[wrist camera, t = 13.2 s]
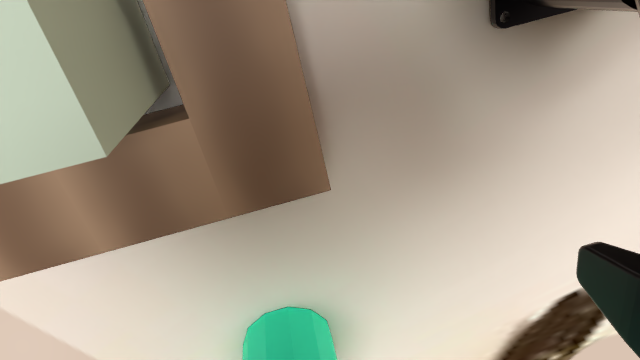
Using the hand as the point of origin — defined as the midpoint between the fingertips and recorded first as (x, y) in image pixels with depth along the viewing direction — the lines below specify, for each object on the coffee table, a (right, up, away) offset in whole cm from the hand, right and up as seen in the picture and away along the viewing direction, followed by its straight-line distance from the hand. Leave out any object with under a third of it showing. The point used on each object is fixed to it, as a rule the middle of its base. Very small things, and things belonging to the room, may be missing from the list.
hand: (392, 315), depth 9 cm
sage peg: (-11, +9, +9) cm, 16 cm away
